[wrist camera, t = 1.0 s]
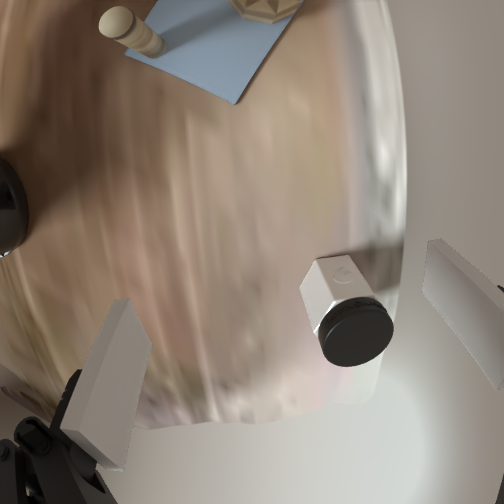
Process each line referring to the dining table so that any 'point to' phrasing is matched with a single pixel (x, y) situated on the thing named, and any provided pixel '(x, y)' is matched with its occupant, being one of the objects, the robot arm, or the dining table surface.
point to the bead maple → (265, 9)
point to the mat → (210, 44)
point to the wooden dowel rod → (131, 32)
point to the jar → (345, 312)
